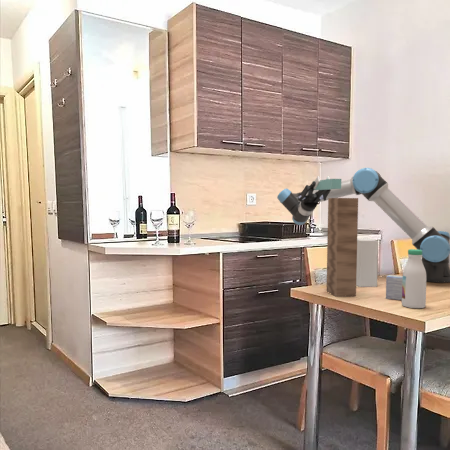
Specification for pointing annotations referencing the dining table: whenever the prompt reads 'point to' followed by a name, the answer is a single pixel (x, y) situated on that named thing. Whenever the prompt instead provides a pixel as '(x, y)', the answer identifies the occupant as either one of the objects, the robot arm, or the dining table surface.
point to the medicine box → (394, 287)
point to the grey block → (367, 263)
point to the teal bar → (329, 184)
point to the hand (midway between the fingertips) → (324, 178)
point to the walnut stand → (342, 246)
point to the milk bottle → (414, 281)
